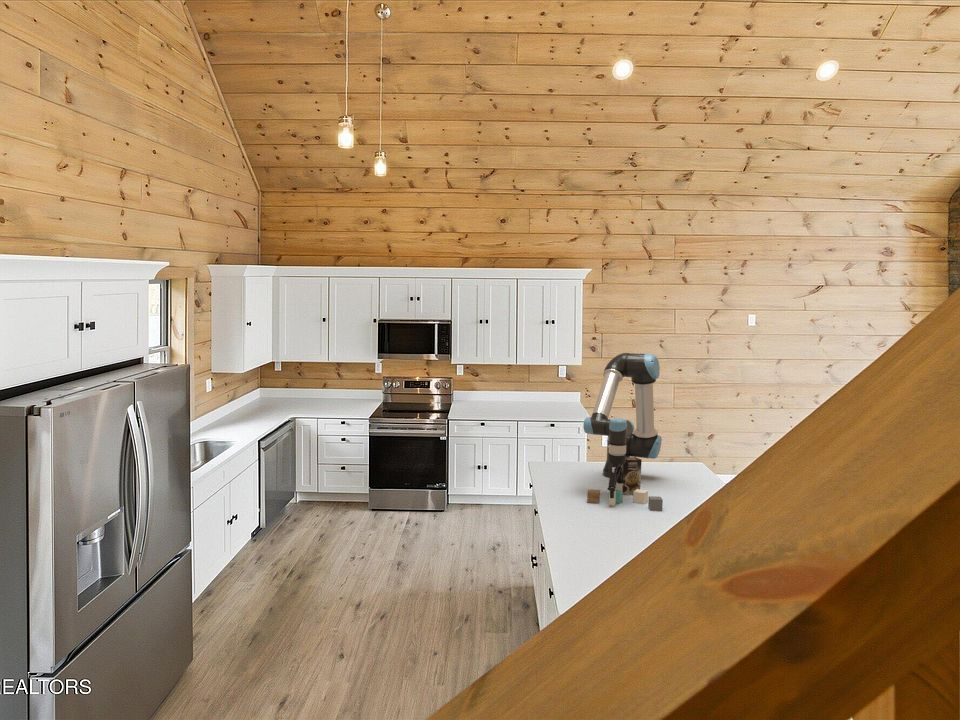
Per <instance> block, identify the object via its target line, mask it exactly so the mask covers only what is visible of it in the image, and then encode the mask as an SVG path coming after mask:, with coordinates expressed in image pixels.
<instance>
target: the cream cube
mask: <svg viewBox="0 0 960 720" xmlns="http://www.w3.org/2000/svg"><path fill="white" fill-rule="evenodd" d="M632 496H633V497H632V502H633V503H635V504H640V503H641V504H643V505H645V504H647V503H648V502H647V501H649V490H647V489H645V490H644V489H641V488H640V489H637V490H635V491H633V494H632Z"/></svg>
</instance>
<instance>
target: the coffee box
mask: <svg viewBox="0 0 960 720" xmlns="http://www.w3.org/2000/svg"><path fill="white" fill-rule="evenodd" d="M642 462H643V461H642V458H640V457H632V456H630V457H626V462H625V463H624V464H623V479H624V484H623V483H621V484H622V490H623V495H633V491H635V490H637V489H640V490H641V482H642Z"/></svg>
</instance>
